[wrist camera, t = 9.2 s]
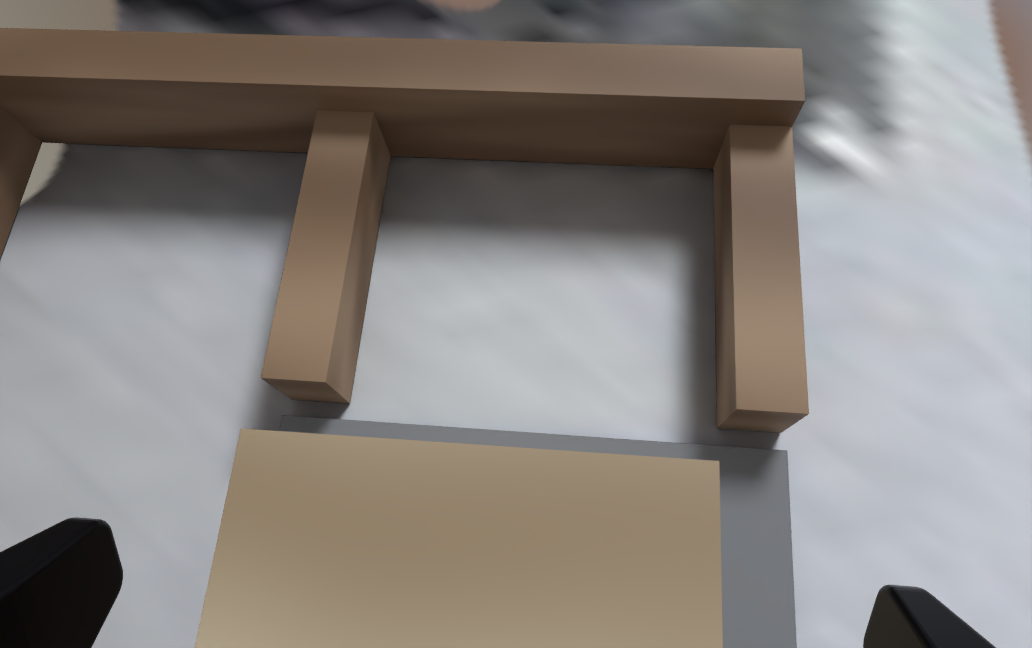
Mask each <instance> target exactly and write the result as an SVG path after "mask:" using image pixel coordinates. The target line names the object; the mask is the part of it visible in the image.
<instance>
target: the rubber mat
mask: <svg viewBox="0 0 1032 648" xmlns="http://www.w3.org/2000/svg"><path fill="white" fill-rule="evenodd" d="M279 431H285V432H300V433H315V434H329V435H344V436H359V437H374V438H388V439H403V440H418V441H432V442H447V443H462V444H476V445H491V446H506V447H520V448H535V449H550V450H564V451H579V452H594V453H608V454H623V455H638V456H652V457H667V458H682V459H697V460H711V461H719V471H720V524H721V577H722V631H723V648H797V645H796V624H795V603H794V582H793V561H792V540H791V518H790V497H789V476H788V455H787V451H786V450H772V449H757V448H743V447H729V446H714V445H700V444H686V443H671V442H657V441H643V440H628V439H614V438H600V437H585V436H571V435H557V434H543V433H528V432H514V431H500V430H485V429H471V428H457V427H442V426H428V425H414V424H399V423H385V422H371V421H356V420H342V419H328V418H313V417H299V416H285V415H282V420H281V425H280V430H279Z"/></svg>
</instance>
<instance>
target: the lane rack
mask: <svg viewBox="0 0 1032 648" xmlns="http://www.w3.org/2000/svg"><path fill="white" fill-rule="evenodd" d="M804 102H805V91H804V76H803V61H802V49H791V48H753V47H714V46H676V45H637V44H599V43H560V42H522V41H483V40H445V39H406V38H368V37H329V36H291V35H252V34H214V33H175V32H137V31H98V30H96V31H95V30H94V31H93V30H60V29H59V30H58V29H20V28H0V258H1V255H2V253H3V250H4V247H5V244H6V241H7V239H8V236H9V233H10V230H11V228H12V225H13V222H14V219H15V216H16V214H17V211H18V208H19V205H20V203H21V200H22V197H23V194H24V191H25V189H26V186H27V183H28V180H29V177H30V175H31V172H32V169H33V166H34V163H35V161H36V158H37V155H38V152H39V149H40V147H41V144H42V142H46V143H48V142H49V143H72V144H97V145H122V146H148V147H173V148H199V149H224V150H249V151H275V152H300V153H308V155H307V160H306V165H305V169H304V174H303V179H302V184H301V189H300V193H299V198H298V203H297V208H296V212H295V217H294V222H293V227H292V231H291V236H290V241H289V246H288V250H287V255H286V260H285V265H284V269H283V274H282V279H281V284H280V288H279V293H278V298H277V303H276V307H275V312H274V317H273V322H272V327H271V331H270V336H269V341H268V346H267V350H266V355H265V360H264V365H263V369H262V374H261V378H262V379H263V380H265V381H266V382H267V383H269V384H270V385H272V386H273V387H275V388H276V389H277V390H279V391H280V392H282V393H283V394H285V395H286V396H288V397H289V398H290V399H292V400H306V401H321V402H336V403H350V401H351V395H352V389H353V383H354V377H355V371H356V365H357V358H358V352H359V346H360V340H361V334H362V328H363V322H364V316H365V310H366V304H367V297H368V291H369V285H370V279H371V273H372V267H373V261H374V255H375V249H376V243H377V237H378V230H379V224H380V218H381V212H382V206H383V200H384V194H385V188H386V182H387V176H388V169H389V163H390V157H391V156H401V157H427V158H452V159H478V160H503V161H528V162H554V163H579V164H604V165H630V166H655V167H680V168H706V169H713V186H714V256H715V326H716V396H717V428H719V429H733V430H748V431H763V432H777V433H781V432H783V431H784V430H786V429H787V428H789V427H790V426H792V425H793V424H795V423H796V422H798V421H799V420H801V419H802V418H803V417H805V416H806V415H808V414H809V408H808V391H807V374H806V357H805V340H804V323H803V306H802V289H801V272H800V255H799V238H798V221H797V204H796V187H795V170H794V153H793V136H792V126H793V124H794V122H795V120H796V118H797V116H798V114H799V112H800V110H801V108H802V106H803V104H804Z"/></svg>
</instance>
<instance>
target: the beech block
mask: <svg viewBox="0 0 1032 648" xmlns="http://www.w3.org/2000/svg"><path fill="white" fill-rule="evenodd" d="M195 648H723V631H722V577H721V524H720V471H719V461H711V460H697V459H682V458H667V457H652V456H638V455H623V454H608V453H594V452H579V451H564V450H550V449H535V448H520V447H506V446H491V445H476V444H462V443H447V442H432V441H418V440H403V439H388V438H374V437H359V436H344V435H329V434H315V433H300V432H285V431H271V430H256V429H241V430H240V435H239V440H238V444H237V449H236V454H235V458H234V463H233V468H232V473H231V477H230V482H229V487H228V492H227V496H226V501H225V506H224V511H223V515H222V520H221V525H220V530H219V534H218V539H217V544H216V548H215V553H214V558H213V563H212V567H211V572H210V577H209V582H208V586H207V591H206V596H205V601H204V605H203V610H202V615H201V619H200V624H199V629H198V634H197V638H196V643H195Z"/></svg>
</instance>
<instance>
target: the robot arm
mask: <svg viewBox="0 0 1032 648" xmlns="http://www.w3.org/2000/svg"><path fill="white" fill-rule="evenodd" d="M122 580H123V570H122V565H121V562H120V558H119V555H118V551H117V548H116V544H115V541H114V537H113V534H112V530H111V528H110V526H109V525H108V524H107V523H106V522H105V521H103V520H100V519H90V518H69V519H66V520H64V521H62V522H60V523H58V524H56V525H54V526H52V527H50V528H48V529H46V530H44V531H42V532H40V533H38V534H36V535H34V536H32V537H30V538H28V539H26V540H24V541H22V542H20V543H18V544H16V545H14V546H12V547H10V548H8V549H6V550H4V551H2V552H0V648H91V647H92V645H93V643H94V641H95V639H96V637H97V635H98V633H99V631H100V629H101V627H102V625H103V623H104V622H105V620H106V618H107V616H108V614H109V612H110V610H111V608H112V606H113V604H114V602H115V600H116V598H117V596H118V594H119V591H120V588H121V585H122ZM863 648H996V647H995V646H993V645H992V644H991V643H990V642H989V641H987V640H986V639H985V638H984V637H982V636H981V635H980V634H979V633H978V632H976V631H975V630H974V629H973V628H972V627H970V626H969V625H968V624H967V623H965V622H964V621H963V620H962V619H961V618H959V617H958V616H957V615H956V614H955V613H953V612H952V611H951V610H950V609H948V608H947V607H946V606H945V605H944V604H942V603H941V602H940V601H939V600H938V599H936V598H935V597H934V596H933V595H931V594H930V593H929V592H927V591H926V590H924V589H922V588H918V587H911V586H899V585H886V586H883V587H882V588H881V589H880V590H879V592H878V594H877V597H876V601H875V604H874V607H873V610H872V613H871V617H870V620H869V623H868V626H867V629H866V633H865V637H864V644H863Z"/></svg>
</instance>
